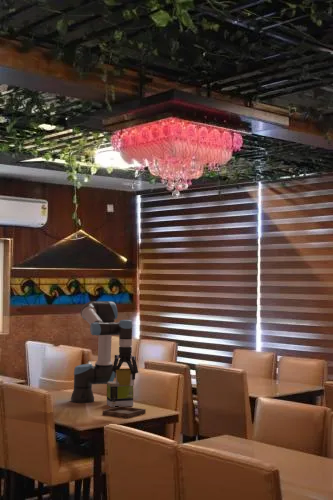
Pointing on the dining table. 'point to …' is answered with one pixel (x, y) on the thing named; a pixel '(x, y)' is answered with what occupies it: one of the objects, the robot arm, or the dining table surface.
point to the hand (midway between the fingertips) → (124, 384)
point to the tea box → (119, 394)
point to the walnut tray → (124, 412)
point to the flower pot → (123, 376)
